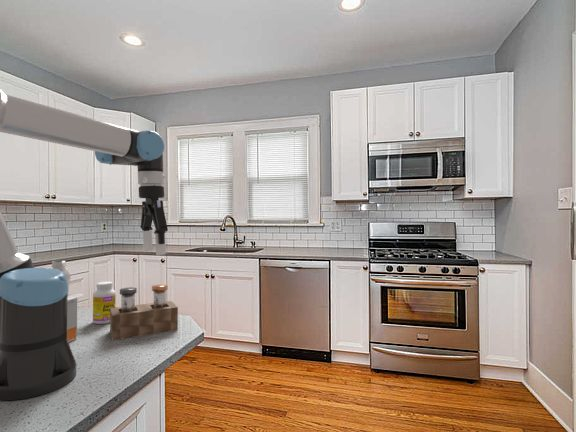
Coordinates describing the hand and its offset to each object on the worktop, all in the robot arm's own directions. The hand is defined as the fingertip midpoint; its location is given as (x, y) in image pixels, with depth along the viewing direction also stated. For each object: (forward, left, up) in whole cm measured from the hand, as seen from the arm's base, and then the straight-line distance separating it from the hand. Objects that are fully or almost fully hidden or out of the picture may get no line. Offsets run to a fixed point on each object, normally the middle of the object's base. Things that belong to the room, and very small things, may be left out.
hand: (154, 252), depth 110 cm
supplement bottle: (+13, +13, -24) cm, 30 cm away
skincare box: (-2, +24, -24) cm, 34 cm away
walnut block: (-3, +3, -24) cm, 24 cm away
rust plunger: (-3, -1, -19) cm, 19 cm away
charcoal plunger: (-3, +8, -19) cm, 21 cm away
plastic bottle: (+20, +26, -24) cm, 41 cm away
